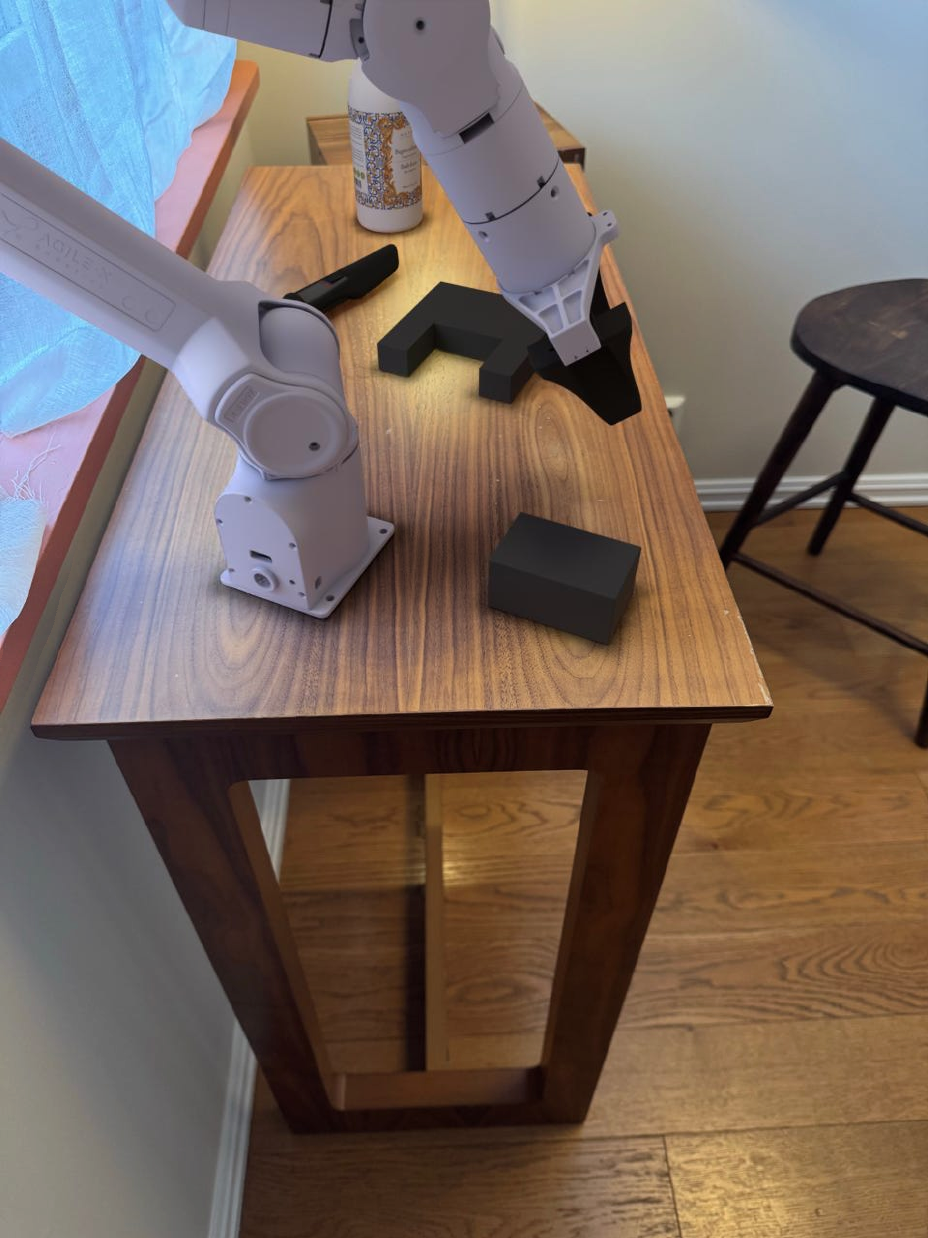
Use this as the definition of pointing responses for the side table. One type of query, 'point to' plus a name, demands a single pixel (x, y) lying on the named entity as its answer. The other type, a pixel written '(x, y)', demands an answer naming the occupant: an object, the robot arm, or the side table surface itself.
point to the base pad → (465, 337)
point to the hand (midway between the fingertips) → (612, 376)
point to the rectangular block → (563, 577)
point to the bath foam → (383, 159)
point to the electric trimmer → (349, 281)
